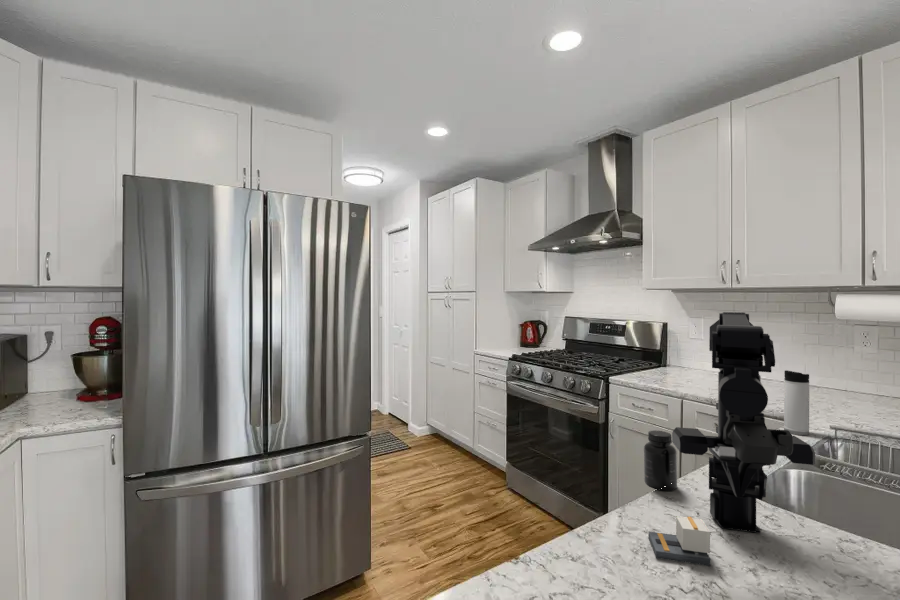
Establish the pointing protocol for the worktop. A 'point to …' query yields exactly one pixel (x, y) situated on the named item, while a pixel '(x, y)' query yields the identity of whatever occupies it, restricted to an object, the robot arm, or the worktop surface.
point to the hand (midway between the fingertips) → (738, 496)
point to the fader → (693, 534)
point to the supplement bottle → (660, 461)
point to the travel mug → (796, 403)
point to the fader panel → (675, 550)
